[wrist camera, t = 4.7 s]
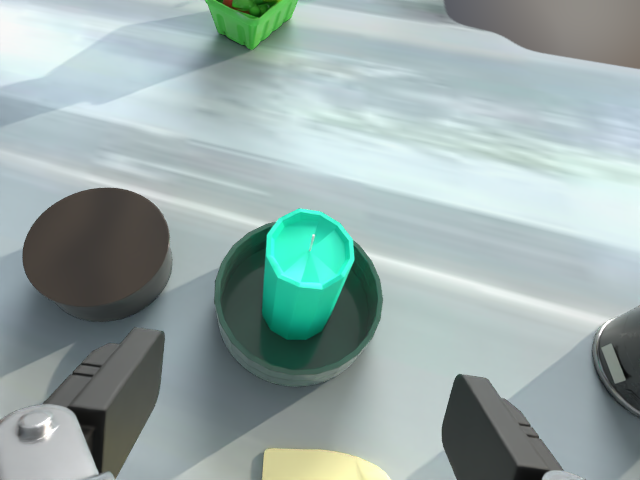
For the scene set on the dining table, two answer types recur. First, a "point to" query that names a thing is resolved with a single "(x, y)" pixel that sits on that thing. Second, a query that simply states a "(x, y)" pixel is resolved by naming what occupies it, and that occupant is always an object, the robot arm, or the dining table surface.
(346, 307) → the tin
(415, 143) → the dining table surface
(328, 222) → the candle
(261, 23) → the fruit basket
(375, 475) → the cloth
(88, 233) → the stand
